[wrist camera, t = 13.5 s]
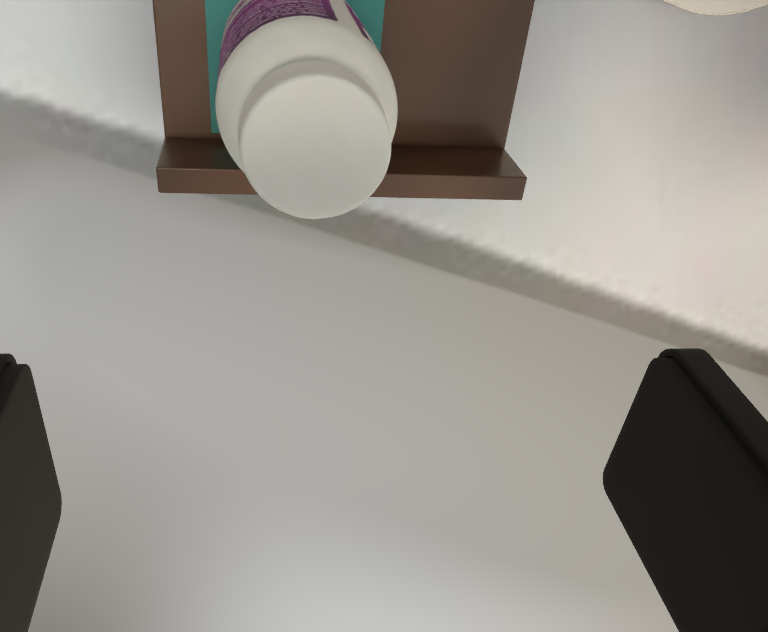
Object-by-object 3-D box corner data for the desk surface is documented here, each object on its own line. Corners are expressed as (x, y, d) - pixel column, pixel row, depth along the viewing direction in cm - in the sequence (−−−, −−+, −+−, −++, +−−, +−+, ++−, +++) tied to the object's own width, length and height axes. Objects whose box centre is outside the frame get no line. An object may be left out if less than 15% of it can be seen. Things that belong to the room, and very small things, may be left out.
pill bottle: (203, 92, 25) (181, 205, 18) (249, -54, 23) (247, 5, 15) (334, 143, 27) (366, 266, 20) (390, 14, 25) (453, 97, 17)
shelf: (506, -78, 28) (580, -52, 22) (470, 130, 34) (522, 200, 27) (159, -113, 26) (129, -95, 19) (178, 118, 31) (158, 193, 25)
